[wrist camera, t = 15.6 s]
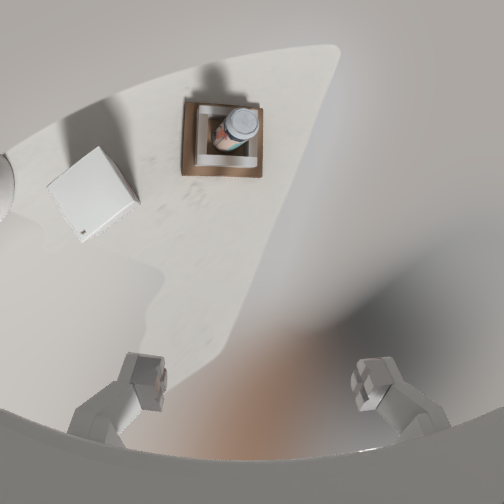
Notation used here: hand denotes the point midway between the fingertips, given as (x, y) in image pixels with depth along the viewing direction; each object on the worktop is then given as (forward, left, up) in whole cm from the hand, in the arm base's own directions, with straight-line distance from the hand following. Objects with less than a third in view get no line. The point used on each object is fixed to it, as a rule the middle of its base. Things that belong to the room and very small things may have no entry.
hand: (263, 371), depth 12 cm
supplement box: (-13, +8, -42) cm, 45 cm away
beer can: (+7, +18, -41) cm, 45 cm away
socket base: (+7, +18, -42) cm, 47 cm away
